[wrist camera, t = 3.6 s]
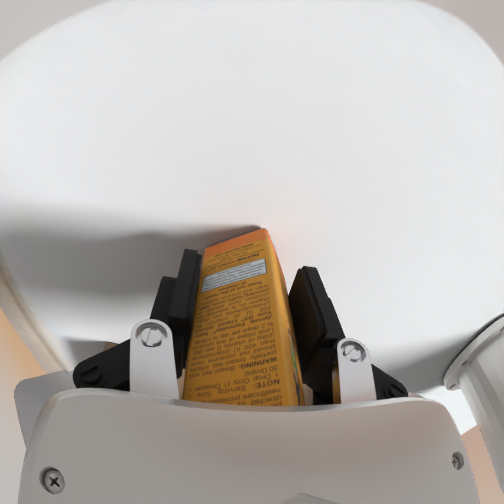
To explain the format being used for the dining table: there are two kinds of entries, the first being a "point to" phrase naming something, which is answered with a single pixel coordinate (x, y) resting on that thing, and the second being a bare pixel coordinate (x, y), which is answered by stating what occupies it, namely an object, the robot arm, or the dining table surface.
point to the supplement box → (243, 329)
